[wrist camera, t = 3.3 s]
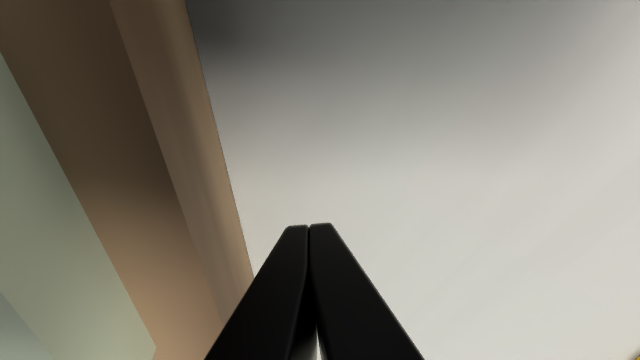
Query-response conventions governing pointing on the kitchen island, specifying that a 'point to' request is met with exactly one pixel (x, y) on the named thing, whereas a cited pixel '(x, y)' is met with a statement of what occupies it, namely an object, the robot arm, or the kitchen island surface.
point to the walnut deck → (137, 154)
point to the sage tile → (54, 256)
